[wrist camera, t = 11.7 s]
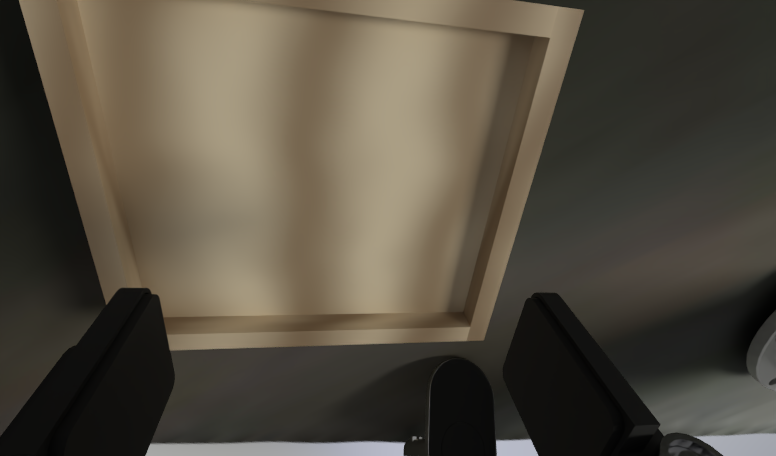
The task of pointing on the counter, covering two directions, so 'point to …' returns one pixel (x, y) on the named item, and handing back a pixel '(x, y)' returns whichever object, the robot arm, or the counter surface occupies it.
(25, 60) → the counter surface
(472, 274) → the beech platter
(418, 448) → the stand
